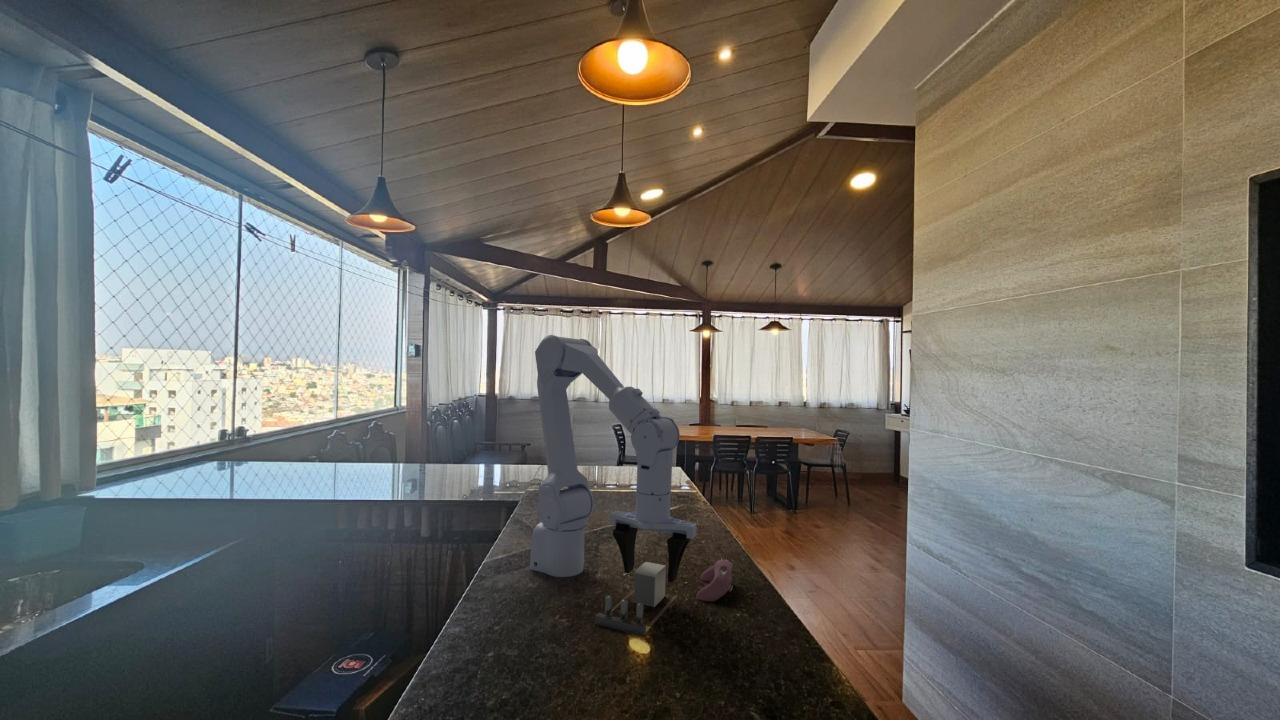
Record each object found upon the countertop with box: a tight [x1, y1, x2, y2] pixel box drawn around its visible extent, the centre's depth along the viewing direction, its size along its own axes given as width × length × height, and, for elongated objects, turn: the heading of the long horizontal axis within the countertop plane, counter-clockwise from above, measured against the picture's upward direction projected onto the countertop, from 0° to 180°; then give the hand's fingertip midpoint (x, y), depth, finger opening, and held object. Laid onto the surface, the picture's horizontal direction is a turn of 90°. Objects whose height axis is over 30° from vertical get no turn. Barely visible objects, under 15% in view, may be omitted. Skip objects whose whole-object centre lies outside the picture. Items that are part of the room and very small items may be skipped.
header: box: [594, 594, 647, 637], centre depth 73 cm, size 8×2×4 cm, turn 66°
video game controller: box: [695, 557, 734, 602], centre depth 87 cm, size 10×5×7 cm, turn 169°
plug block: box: [633, 561, 667, 608], centre depth 82 cm, size 4×5×5 cm
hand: (650, 575), depth 82 cm, fingers open, 7 cm apart
